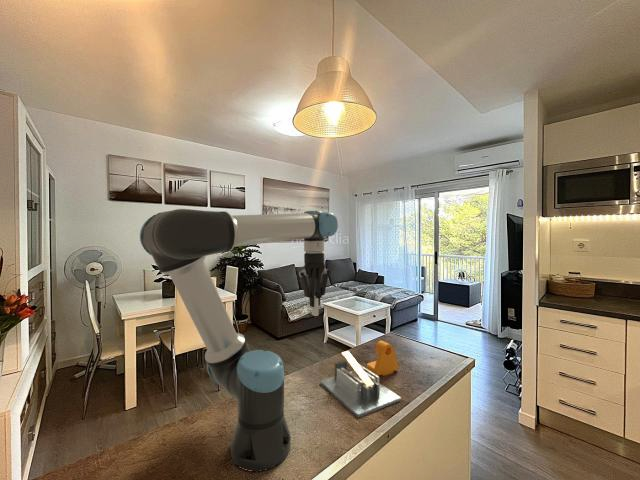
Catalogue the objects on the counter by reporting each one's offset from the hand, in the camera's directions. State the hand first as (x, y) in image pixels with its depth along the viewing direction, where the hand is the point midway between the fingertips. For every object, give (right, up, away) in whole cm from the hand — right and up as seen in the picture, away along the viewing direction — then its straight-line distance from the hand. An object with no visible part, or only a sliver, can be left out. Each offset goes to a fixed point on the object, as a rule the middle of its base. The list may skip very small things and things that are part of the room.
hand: (315, 314), depth 104 cm
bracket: (+27, -26, +9) cm, 39 cm away
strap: (+15, -18, -6) cm, 24 cm away
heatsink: (+16, -26, -6) cm, 31 cm away
